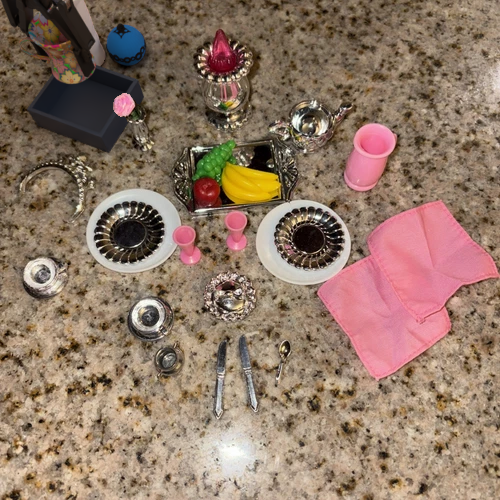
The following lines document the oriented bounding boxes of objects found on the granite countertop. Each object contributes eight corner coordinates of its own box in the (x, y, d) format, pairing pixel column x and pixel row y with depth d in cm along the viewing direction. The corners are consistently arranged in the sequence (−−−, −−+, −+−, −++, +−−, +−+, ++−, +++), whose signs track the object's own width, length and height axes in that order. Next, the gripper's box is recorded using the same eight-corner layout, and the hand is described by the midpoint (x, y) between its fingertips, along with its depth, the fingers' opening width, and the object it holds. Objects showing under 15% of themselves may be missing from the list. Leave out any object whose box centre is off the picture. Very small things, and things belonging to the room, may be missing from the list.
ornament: (132, 39, 114) (121, 3, 105) (157, 59, 112) (148, 23, 103) (104, 60, 112) (90, 25, 103) (128, 80, 110) (116, 47, 100)
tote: (37, 126, 105) (26, 109, 100) (75, 72, 111) (66, 54, 106) (109, 153, 103) (101, 137, 97) (144, 97, 108) (138, 79, 103)
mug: (95, 46, 97) (77, 1, 88) (103, 82, 94) (85, 39, 84) (34, 59, 96) (9, 15, 86) (40, 96, 93) (15, 55, 83)
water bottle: (91, 76, 110) (46, -22, 87) (69, 62, 112) (19, -39, 89) (112, 57, 112) (74, -45, 89) (90, 42, 114) (47, -61, 91)
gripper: (88, -44, 72) (127, 66, 93) (-32, -81, 76) (31, 34, 97) (61, -9, 70) (107, 96, 91) (-62, -49, 73) (10, 61, 94)
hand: (68, 64), depth 94 cm, fingers closed on mug, 9 cm apart
